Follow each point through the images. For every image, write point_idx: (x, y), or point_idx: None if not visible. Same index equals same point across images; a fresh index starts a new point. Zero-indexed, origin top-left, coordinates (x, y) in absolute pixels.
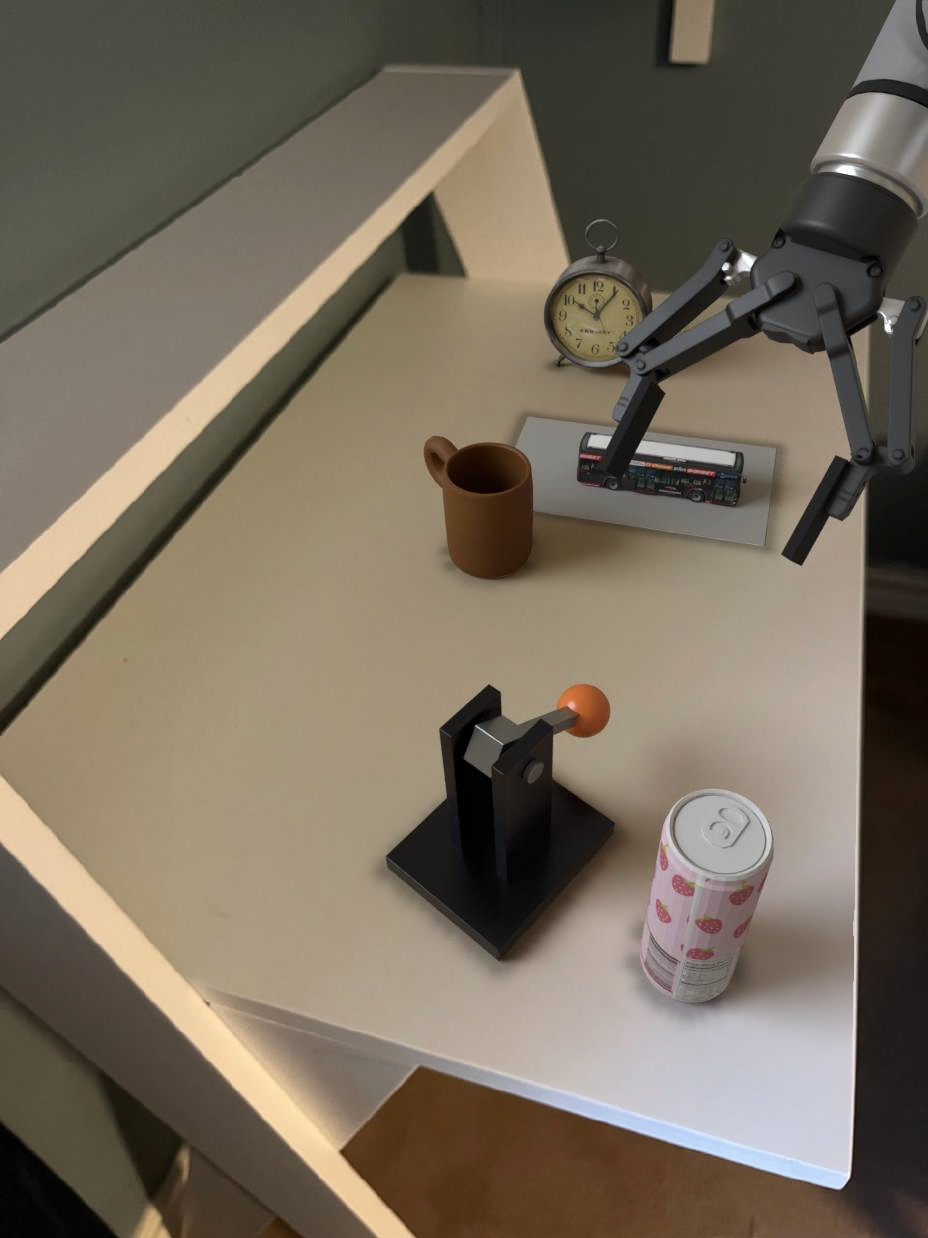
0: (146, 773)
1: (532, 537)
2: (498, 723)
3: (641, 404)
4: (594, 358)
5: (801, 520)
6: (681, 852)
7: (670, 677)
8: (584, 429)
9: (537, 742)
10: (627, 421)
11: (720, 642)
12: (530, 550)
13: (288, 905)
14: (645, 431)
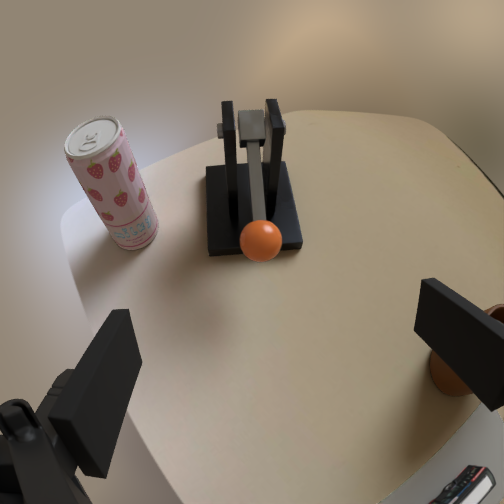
0: (394, 139)
1: (446, 386)
2: (258, 126)
3: (487, 333)
4: None
5: (110, 337)
6: (105, 117)
7: (271, 385)
8: (496, 499)
9: (222, 120)
10: (471, 311)
11: (267, 443)
12: (438, 382)
13: (297, 137)
14: (453, 369)
